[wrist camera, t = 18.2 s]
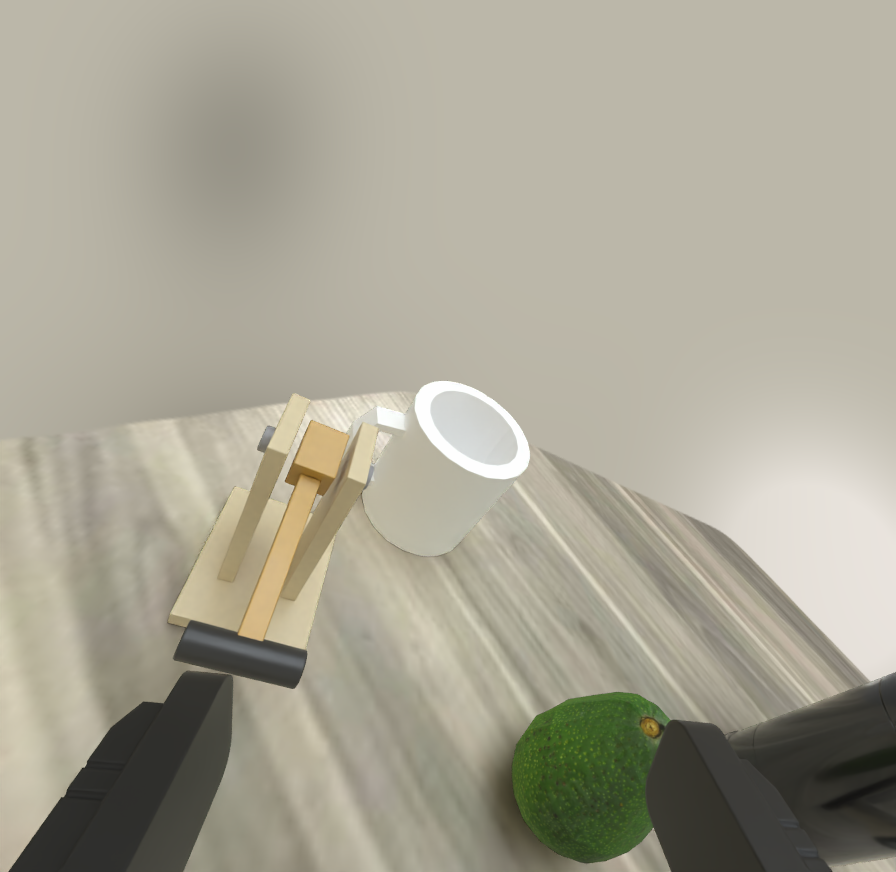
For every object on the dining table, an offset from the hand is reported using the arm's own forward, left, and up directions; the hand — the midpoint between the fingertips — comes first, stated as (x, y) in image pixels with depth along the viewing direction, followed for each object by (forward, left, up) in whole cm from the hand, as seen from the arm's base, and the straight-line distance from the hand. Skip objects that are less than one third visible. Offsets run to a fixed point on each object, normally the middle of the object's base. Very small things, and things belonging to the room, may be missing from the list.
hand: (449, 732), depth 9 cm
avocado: (-18, +7, -23) cm, 30 cm away
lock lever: (-5, -11, -13) cm, 18 cm away
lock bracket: (-8, -14, -23) cm, 28 cm away
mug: (-22, -16, -23) cm, 35 cm away
